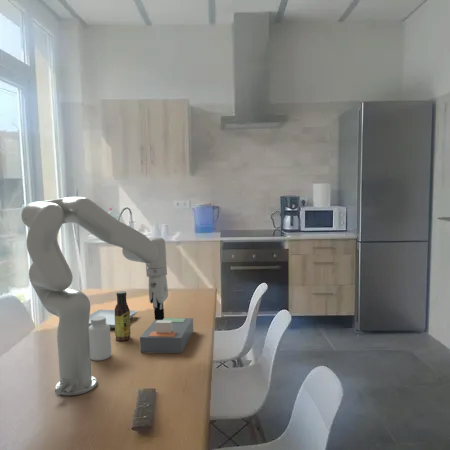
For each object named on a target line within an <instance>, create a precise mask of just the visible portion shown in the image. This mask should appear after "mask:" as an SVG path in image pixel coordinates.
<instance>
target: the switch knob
mask: <svg viewBox="0 0 450 450" xmlns="http://www.w3.org/2000/svg"><path fill="white" fill-rule="evenodd" d="M172 331H173V325H172V320H157V322H156V333H171V332H172Z"/></svg>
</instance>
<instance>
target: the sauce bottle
mask: <svg viewBox="0 0 450 450" xmlns="http://www.w3.org/2000/svg"><path fill="white" fill-rule="evenodd" d="M116 299H117V301H116V305H115V307H114V310H115V328H114V335H115V340H116V341H120V342H124V341H128V340H129V339H131V318H130V311H131V309H130V308H129V305H128V302H127V291H124V290H123V291H117V292H116Z"/></svg>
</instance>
